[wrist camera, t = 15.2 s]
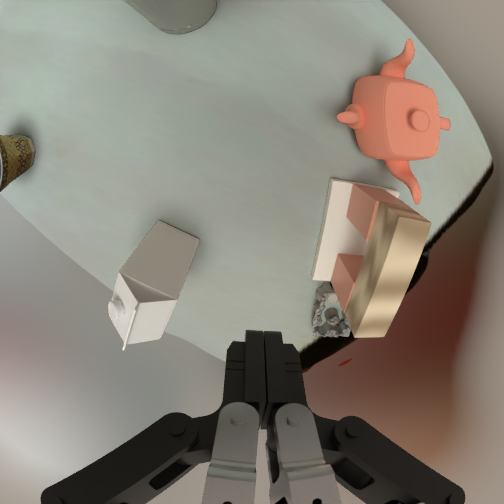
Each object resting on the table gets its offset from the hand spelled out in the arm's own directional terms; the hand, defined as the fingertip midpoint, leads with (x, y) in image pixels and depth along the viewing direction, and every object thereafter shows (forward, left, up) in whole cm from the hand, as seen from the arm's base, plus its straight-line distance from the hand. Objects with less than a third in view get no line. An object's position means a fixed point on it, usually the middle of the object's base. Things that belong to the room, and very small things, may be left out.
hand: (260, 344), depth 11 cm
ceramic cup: (-5, -43, -29) cm, 52 cm away
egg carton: (+20, +16, -30) cm, 39 cm away
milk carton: (+11, -12, -29) cm, 33 cm away
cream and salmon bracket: (+6, +16, -29) cm, 34 cm away
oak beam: (+6, +16, -20) cm, 26 cm away
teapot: (-12, +16, -29) cm, 35 cm away
